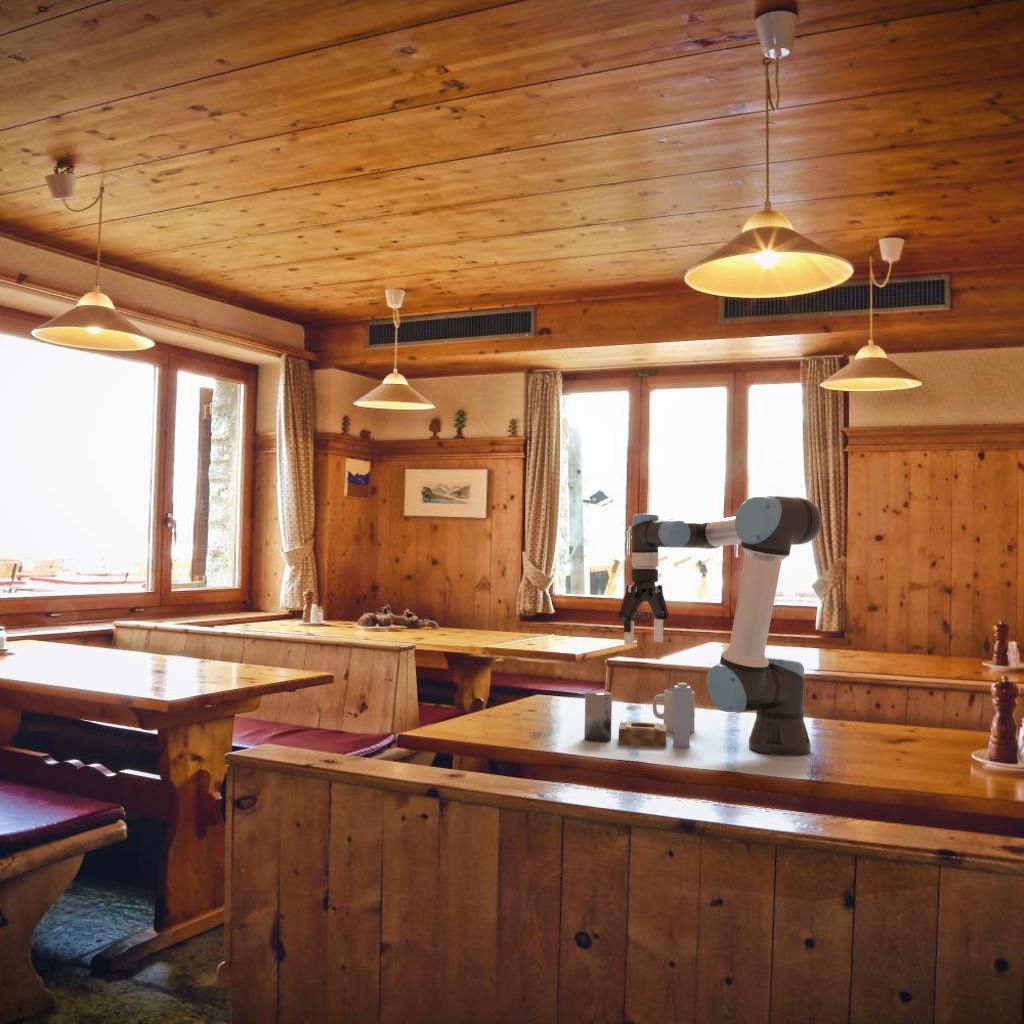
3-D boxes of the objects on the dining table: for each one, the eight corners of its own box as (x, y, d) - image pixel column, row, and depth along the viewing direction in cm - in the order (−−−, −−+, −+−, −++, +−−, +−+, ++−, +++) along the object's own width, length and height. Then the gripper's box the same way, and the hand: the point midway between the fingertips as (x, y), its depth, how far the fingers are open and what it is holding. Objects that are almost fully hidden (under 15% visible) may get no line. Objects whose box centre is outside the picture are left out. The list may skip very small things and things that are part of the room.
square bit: (689, 744, 247) (690, 682, 247) (689, 747, 243) (690, 684, 243) (673, 743, 247) (674, 682, 248) (673, 746, 243) (674, 684, 244)
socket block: (665, 739, 252) (666, 722, 252) (666, 747, 242) (666, 729, 242) (620, 737, 254) (620, 720, 254) (618, 744, 244) (618, 727, 244)
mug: (698, 729, 268) (698, 690, 268) (689, 734, 260) (689, 693, 261) (657, 724, 273) (658, 686, 274) (647, 729, 266) (648, 689, 266)
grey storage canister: (615, 741, 248) (616, 695, 248) (591, 742, 246) (592, 695, 246) (603, 736, 255) (604, 691, 255) (580, 737, 252) (580, 691, 253)
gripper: (660, 568, 283) (659, 640, 282) (606, 567, 265) (605, 644, 264) (681, 568, 278) (680, 641, 277) (628, 568, 260) (627, 646, 259)
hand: (643, 643), depth 270 cm, fingers open, 13 cm apart
